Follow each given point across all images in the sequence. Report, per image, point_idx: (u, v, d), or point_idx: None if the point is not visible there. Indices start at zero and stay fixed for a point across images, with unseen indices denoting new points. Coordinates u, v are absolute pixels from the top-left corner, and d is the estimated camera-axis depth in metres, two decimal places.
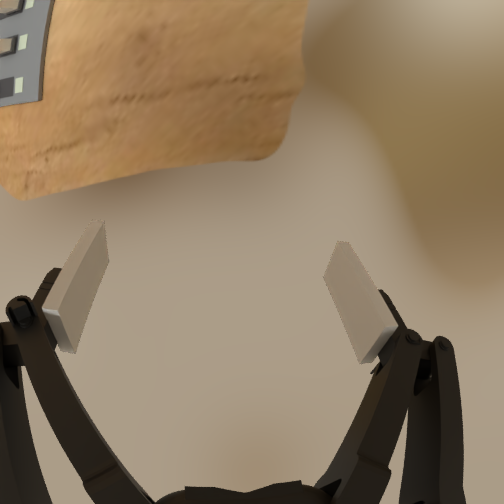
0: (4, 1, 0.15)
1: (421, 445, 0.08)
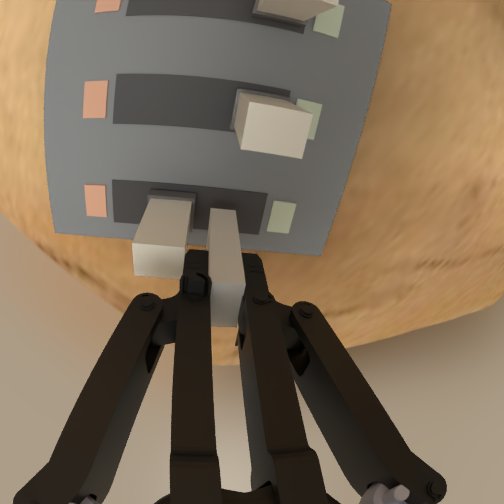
0: None
1: (338, 429, 0.08)
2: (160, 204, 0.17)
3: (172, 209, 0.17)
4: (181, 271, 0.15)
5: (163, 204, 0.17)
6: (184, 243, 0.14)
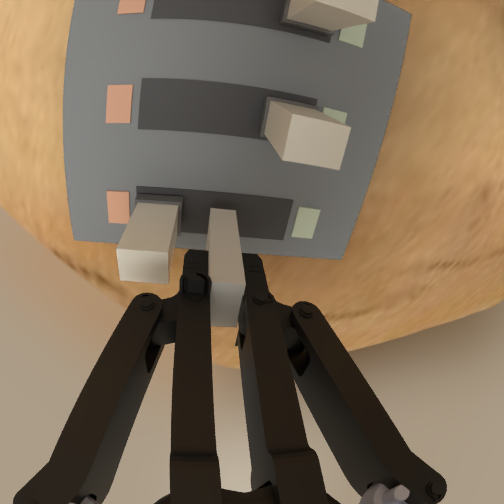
0: None
1: (338, 429, 0.08)
2: (147, 208, 0.17)
3: (158, 213, 0.16)
4: (166, 276, 0.14)
5: (150, 208, 0.17)
6: (168, 248, 0.14)
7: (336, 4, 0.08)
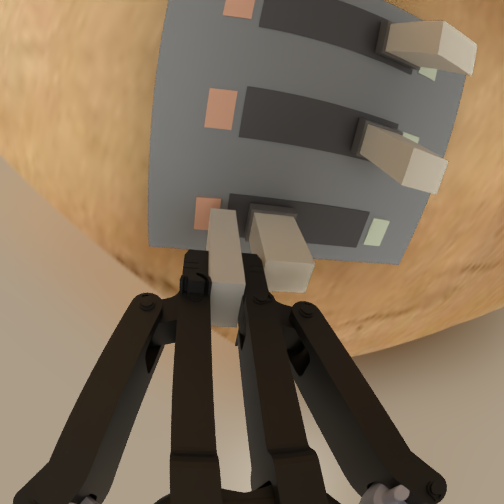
0: None
1: (338, 429, 0.08)
2: (267, 219, 0.18)
3: (281, 224, 0.18)
4: (305, 285, 0.16)
5: (270, 219, 0.18)
6: (312, 259, 0.15)
7: (450, 59, 0.09)
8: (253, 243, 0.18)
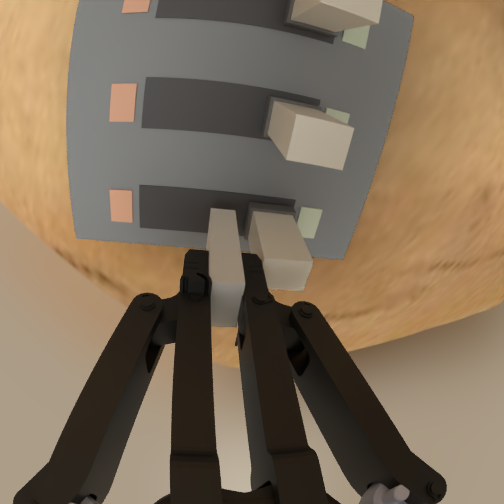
0: None
1: (338, 429, 0.08)
2: (266, 217, 0.18)
3: (280, 223, 0.18)
4: (304, 283, 0.16)
5: (269, 217, 0.18)
6: (310, 257, 0.15)
7: (340, 6, 0.08)
8: (252, 241, 0.18)
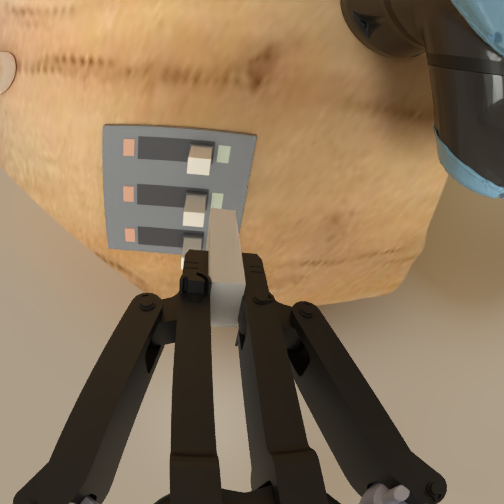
0: None
1: (338, 429, 0.08)
2: (188, 240, 0.43)
3: (194, 243, 0.43)
4: None
5: (190, 240, 0.43)
6: None
7: (193, 173, 0.33)
8: None
